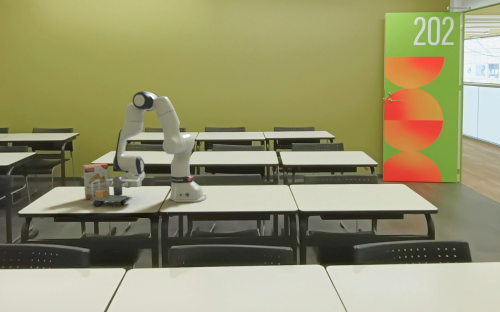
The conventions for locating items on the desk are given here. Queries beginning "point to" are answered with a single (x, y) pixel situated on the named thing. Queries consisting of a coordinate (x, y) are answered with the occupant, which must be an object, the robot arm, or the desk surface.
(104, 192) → the orange block
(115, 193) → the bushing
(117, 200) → the cart
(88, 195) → the cracker box
